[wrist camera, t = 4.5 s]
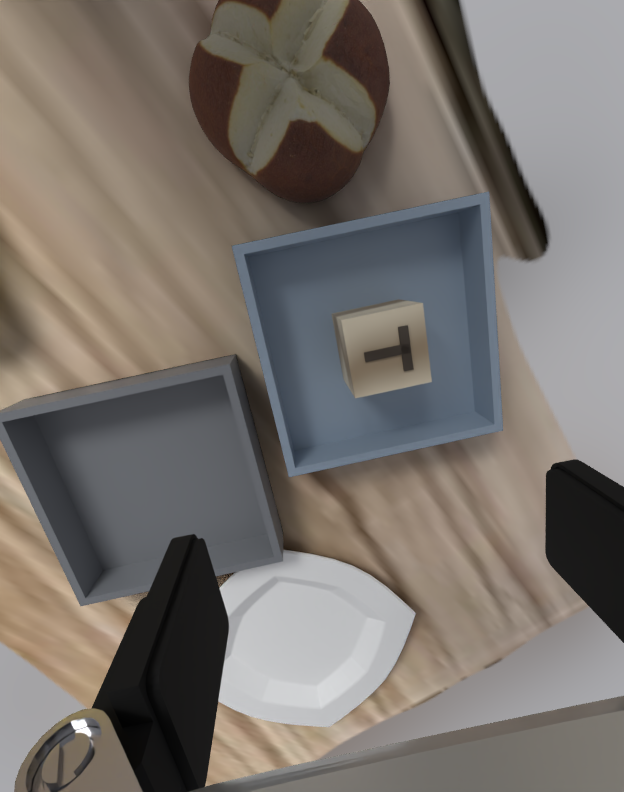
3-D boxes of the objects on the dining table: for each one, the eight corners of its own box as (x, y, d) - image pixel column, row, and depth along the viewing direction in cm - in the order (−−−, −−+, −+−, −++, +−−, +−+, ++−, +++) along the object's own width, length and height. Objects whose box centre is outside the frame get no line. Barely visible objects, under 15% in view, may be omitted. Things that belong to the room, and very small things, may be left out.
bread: (312, 234, 27) (318, 223, 22) (169, 115, 24) (141, 75, 20) (416, 87, 25) (447, 41, 20) (272, -60, 22) (269, -152, 18)
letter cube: (331, 313, 28) (341, 320, 23) (398, 299, 28) (423, 303, 23) (343, 381, 29) (356, 401, 24) (407, 367, 29) (432, 384, 25)
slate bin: (238, 250, 27) (231, 245, 23) (462, 202, 27) (488, 191, 24) (288, 455, 31) (288, 477, 28) (479, 414, 32) (503, 430, 28)
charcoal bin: (24, 399, 29) (-12, 415, 25) (235, 354, 29) (229, 364, 25) (101, 572, 33) (80, 606, 30) (283, 532, 34) (283, 561, 30)
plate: (162, 666, 37) (156, 686, 35) (255, 510, 33) (254, 524, 31) (333, 723, 41) (335, 745, 39) (435, 590, 37) (443, 606, 35)
